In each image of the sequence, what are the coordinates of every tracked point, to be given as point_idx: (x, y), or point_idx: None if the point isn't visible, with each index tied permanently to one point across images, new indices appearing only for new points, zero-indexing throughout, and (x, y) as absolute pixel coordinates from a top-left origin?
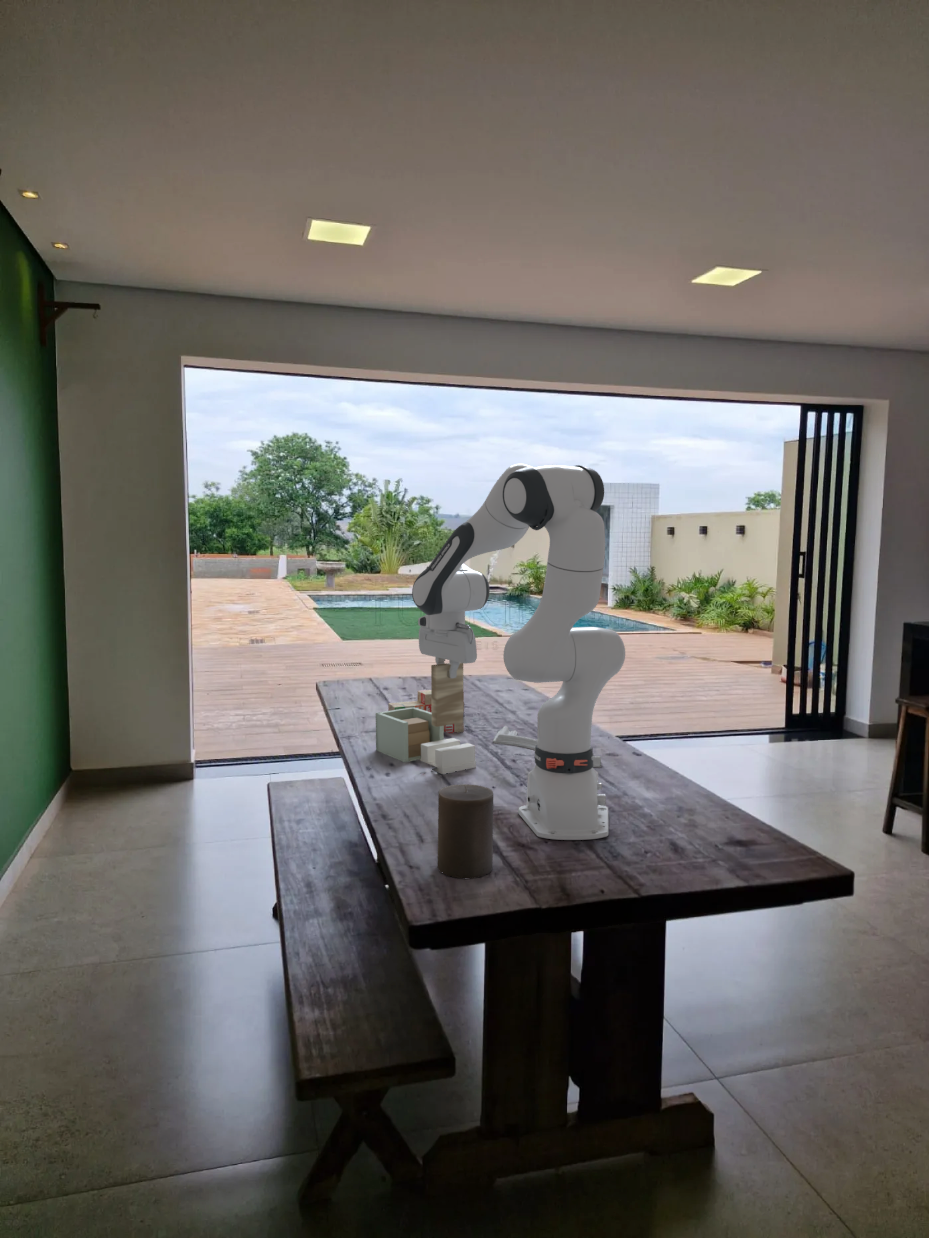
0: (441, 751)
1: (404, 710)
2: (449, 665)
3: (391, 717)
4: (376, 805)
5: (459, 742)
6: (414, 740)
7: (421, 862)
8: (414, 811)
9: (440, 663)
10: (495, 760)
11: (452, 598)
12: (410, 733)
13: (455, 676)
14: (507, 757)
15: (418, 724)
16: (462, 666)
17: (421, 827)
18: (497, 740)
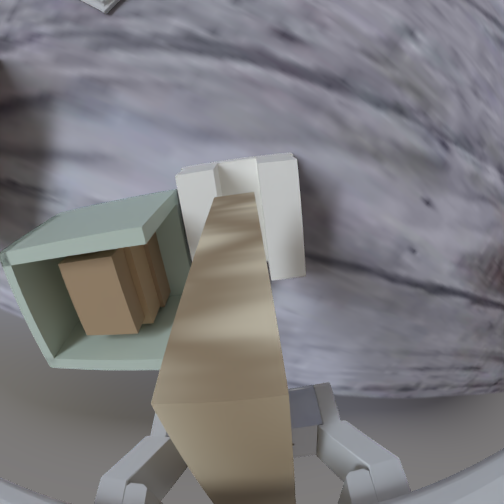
0: (299, 275)
1: (23, 292)
2: (294, 482)
3: (105, 364)
4: (368, 390)
5: (214, 171)
6: (149, 284)
7: (498, 376)
8: (421, 358)
9: (156, 485)
10: (258, 73)
11: None
12: (141, 303)
13: (330, 391)
14: (249, 33)
15: (124, 289)
16: (284, 371)
17: (459, 362)
18: (109, 1)
